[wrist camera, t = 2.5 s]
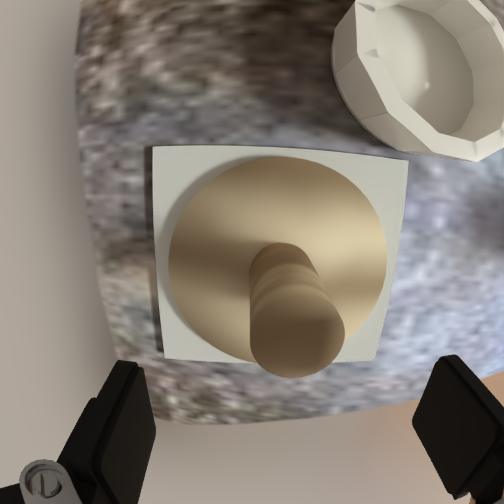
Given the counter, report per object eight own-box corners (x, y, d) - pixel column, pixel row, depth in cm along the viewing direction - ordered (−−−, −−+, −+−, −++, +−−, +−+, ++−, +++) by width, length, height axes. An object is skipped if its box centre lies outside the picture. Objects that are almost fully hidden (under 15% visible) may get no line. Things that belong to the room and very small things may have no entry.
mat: (155, 146, 17) (152, 146, 17) (404, 160, 17) (408, 161, 17) (166, 353, 21) (165, 358, 21) (371, 355, 22) (374, 359, 21)
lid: (169, 154, 17) (113, 157, 9) (393, 167, 17) (474, 181, 10) (178, 353, 21) (151, 438, 13) (363, 355, 21) (401, 433, 14)
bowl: (328, -15, 14) (348, -55, 9) (468, 27, 14) (508, 10, 9) (328, 143, 17) (356, 139, 12) (473, 166, 17) (521, 174, 13)
